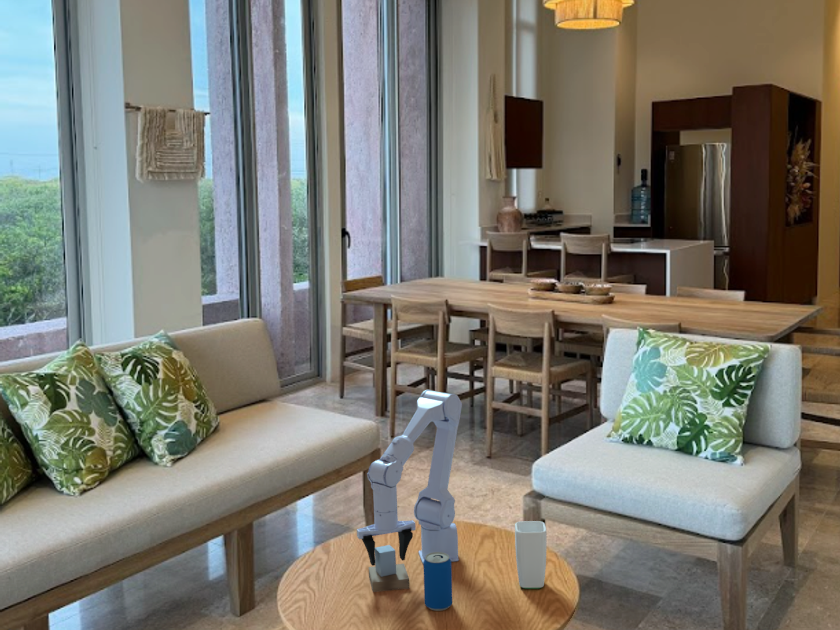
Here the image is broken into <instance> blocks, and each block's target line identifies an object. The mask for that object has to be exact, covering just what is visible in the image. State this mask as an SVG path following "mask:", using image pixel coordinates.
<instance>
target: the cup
mask: <svg viewBox="0 0 840 630" xmlns="http://www.w3.org/2000/svg"><path fill="white" fill-rule="evenodd" d="M514 540H515V541H514V543H515V545H514V546H515V558H516V569H517V570H516V571H517V577H518V583H519V587H521V588H522V589H529V590H531V589H534V590H537V589H541V588H543V587H544V585H545V577H546V569H547V567H546V566H547V527H546V523H545V522H543V521H539V520H536V521H535V520H534V521H533V520H529V521H528V520H526V521H525V520H523V521H522V520H521V521H517V522H515V524H514Z"/></svg>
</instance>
